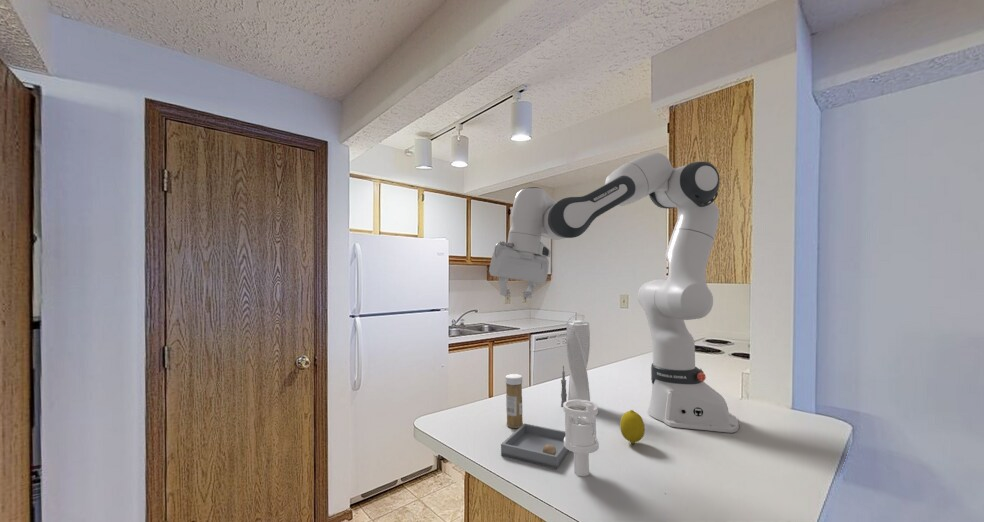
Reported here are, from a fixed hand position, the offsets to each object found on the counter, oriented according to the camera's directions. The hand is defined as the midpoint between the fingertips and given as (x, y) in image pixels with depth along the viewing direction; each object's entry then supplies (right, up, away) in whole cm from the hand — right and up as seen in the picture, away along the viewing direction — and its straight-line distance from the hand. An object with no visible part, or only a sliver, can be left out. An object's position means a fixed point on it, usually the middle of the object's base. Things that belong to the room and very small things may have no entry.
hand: (516, 296), depth 103 cm
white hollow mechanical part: (+12, -35, -24) cm, 44 cm away
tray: (+5, -35, -13) cm, 37 cm away
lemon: (+27, -35, -11) cm, 46 cm away
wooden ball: (+6, -32, -19) cm, 38 cm away
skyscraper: (+20, -36, +16) cm, 44 cm away
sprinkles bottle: (0, -35, +1) cm, 35 cm away
